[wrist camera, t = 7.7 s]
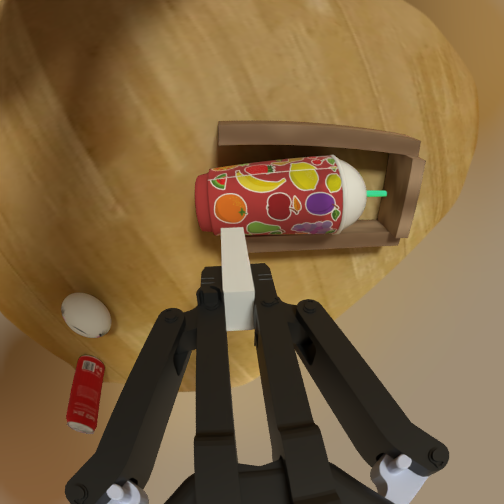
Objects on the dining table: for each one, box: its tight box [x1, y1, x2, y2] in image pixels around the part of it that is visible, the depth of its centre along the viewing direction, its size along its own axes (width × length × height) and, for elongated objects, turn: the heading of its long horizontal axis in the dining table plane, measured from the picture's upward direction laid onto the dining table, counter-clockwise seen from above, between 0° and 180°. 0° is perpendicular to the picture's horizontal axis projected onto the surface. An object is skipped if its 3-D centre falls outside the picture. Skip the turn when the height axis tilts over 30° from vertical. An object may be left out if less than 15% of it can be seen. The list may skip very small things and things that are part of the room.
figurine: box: [61, 293, 111, 338], centre depth 34 cm, size 8×6×7 cm
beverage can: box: [66, 355, 105, 434], centre depth 39 cm, size 6×6×15 cm
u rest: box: [218, 121, 426, 253], centre depth 29 cm, size 14×22×5 cm, turn 89°
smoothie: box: [195, 155, 387, 236], centre depth 28 cm, size 8×8×20 cm
